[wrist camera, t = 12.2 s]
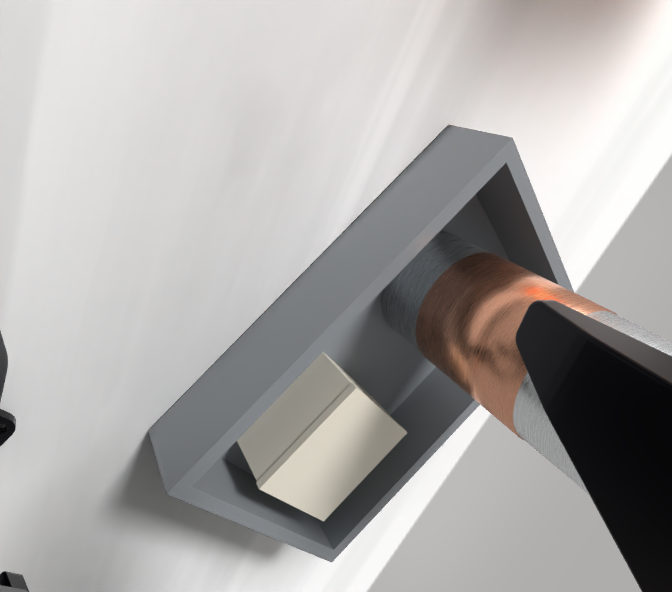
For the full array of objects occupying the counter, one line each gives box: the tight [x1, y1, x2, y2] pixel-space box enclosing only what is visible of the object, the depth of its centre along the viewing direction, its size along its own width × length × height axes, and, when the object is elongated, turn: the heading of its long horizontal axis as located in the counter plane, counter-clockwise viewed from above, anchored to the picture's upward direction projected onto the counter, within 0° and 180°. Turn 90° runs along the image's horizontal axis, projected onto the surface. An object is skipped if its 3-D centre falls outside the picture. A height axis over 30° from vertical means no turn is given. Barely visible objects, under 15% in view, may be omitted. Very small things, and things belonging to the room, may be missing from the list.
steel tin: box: [381, 233, 672, 494], centre depth 21 cm, size 6×6×13 cm
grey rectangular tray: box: [148, 125, 574, 562], centre depth 25 cm, size 20×12×4 cm, turn 128°
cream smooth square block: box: [237, 352, 407, 521], centre depth 24 cm, size 6×5×4 cm
